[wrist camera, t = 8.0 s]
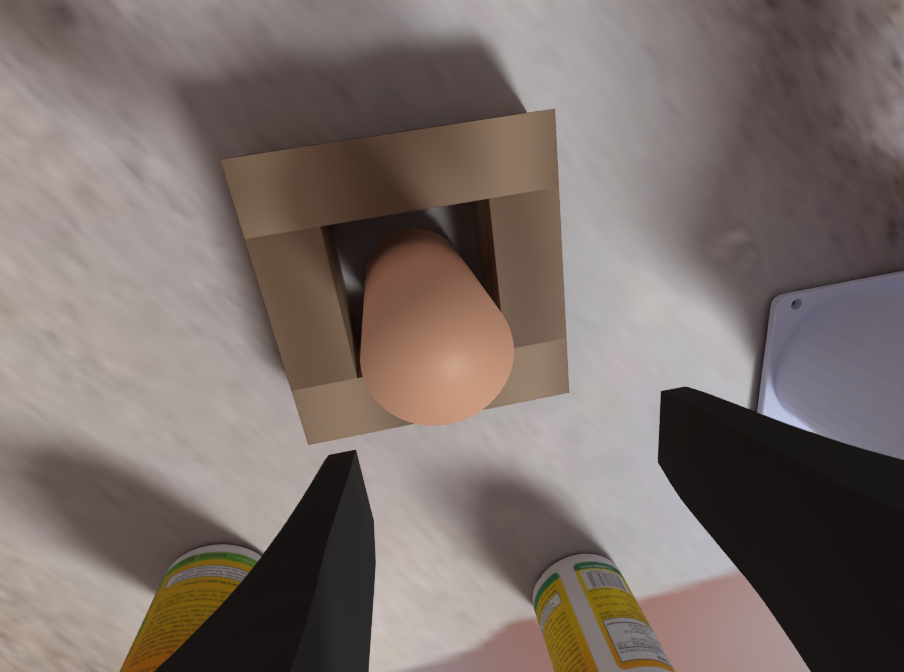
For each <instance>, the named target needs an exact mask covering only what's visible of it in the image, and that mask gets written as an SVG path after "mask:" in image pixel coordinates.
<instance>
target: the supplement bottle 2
mask: <svg viewBox="0 0 904 672" xmlns="http://www.w3.org/2000/svg"><path fill="white" fill-rule="evenodd" d="M533 606H534V610H535V613H536V616H537V619H538V622H539V625H540V628H541V632H542V634H543V638H544V640H545V643H546V646H547V650H548V652H549V655H550V659H551V661H552V665H553V668H554V671H555V672H675V670H674V668H673V666H672V665H671V663H670V661H669V659H668V657H667V655H666V654H665V652H664V650H663V648H662V646H661V645H660V643H659V641H658V639H657V637H656V635H655V634H654V632H653V630H652V628H651V627H650V625H649V623H648V621H647V619H646V617H645V615H644V614H643V612H642V610H641V608H640V606H639V604H638V603H637V601H636V599H635V597H634V596H633V594H632V592H631V590H630V588H629V587H628V585H627V583H626V581H625V579H624V578H623V576H622V574H621V572H620V570H619V569H618V568H617V566H616V565H615V564H614V563H613V562H611V561H610V560H608V559H607V558H604V557H602V556H599V555H595V554H577V555H572V556H569V557H566V558H564V559H561V560H559V561H558V562H556V563H554V564H553V565H552V566H550V567H549V568H548V569H547V570H546V571H545V572H544V573H543V574H542V576H541V577H540V578H539V580H538V581H537V583H536V585H535V587H534V591H533Z"/></svg>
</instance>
